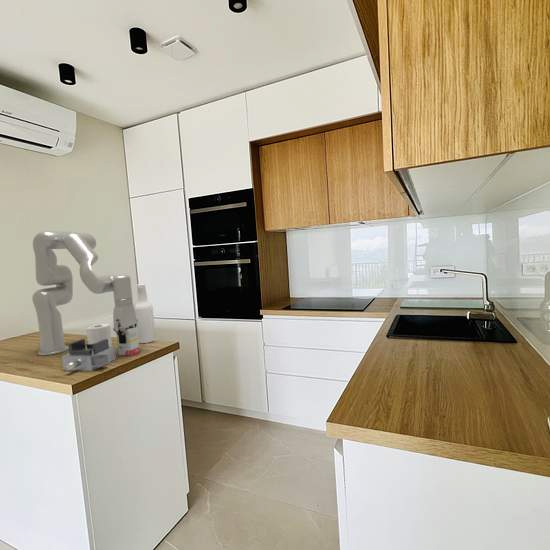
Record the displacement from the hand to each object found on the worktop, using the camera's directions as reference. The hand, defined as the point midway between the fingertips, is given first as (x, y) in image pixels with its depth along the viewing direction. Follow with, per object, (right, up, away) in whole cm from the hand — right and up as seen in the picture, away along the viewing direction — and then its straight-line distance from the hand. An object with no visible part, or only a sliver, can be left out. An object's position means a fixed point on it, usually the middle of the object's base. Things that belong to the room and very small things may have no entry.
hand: (127, 340), depth 150 cm
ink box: (0, -6, +1) cm, 6 cm away
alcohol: (+1, -5, +20) cm, 20 cm away
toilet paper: (-17, -7, +9) cm, 20 cm away
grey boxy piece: (-9, -8, -14) cm, 18 cm away
